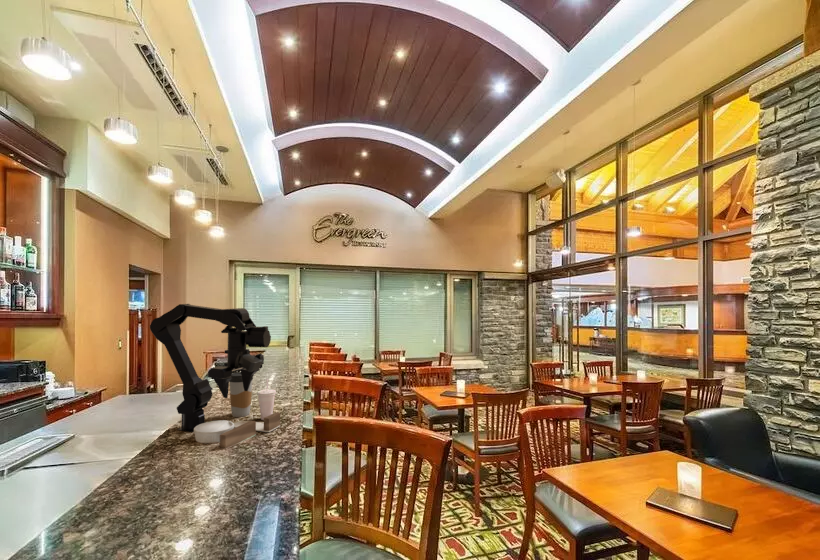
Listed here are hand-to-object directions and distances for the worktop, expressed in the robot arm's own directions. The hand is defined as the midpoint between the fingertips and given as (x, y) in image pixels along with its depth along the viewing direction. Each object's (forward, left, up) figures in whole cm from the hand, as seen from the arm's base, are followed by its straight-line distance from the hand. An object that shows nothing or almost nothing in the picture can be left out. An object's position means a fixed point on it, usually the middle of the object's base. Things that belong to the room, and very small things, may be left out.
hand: (236, 394), depth 134 cm
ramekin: (-1, -9, -13) cm, 16 cm away
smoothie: (+2, +13, -12) cm, 18 cm away
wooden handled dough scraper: (+1, -9, -12) cm, 14 cm away
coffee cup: (-10, +14, -12) cm, 21 cm away
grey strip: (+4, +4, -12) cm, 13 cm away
